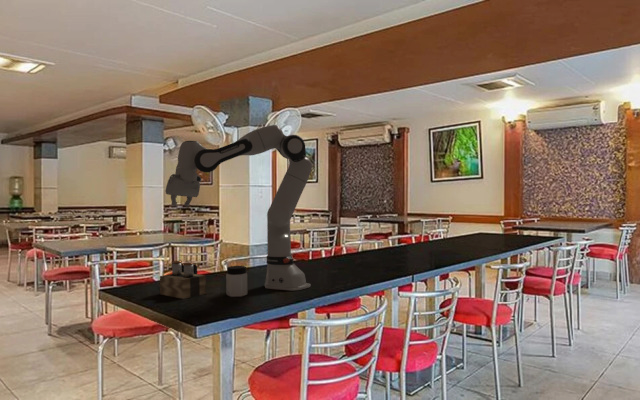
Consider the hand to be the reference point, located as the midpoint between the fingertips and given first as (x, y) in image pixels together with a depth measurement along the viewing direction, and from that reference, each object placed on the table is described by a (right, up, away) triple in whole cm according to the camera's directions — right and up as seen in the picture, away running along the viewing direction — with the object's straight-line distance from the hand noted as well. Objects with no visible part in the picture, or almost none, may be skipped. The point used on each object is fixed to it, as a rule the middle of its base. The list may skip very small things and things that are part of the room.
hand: (180, 205), depth 211 cm
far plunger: (0, -32, -5) cm, 32 cm away
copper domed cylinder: (+6, -32, -9) cm, 34 cm away
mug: (0, -39, +12) cm, 40 cm away
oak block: (+3, -39, -7) cm, 39 cm away
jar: (+27, -39, -10) cm, 48 cm away
